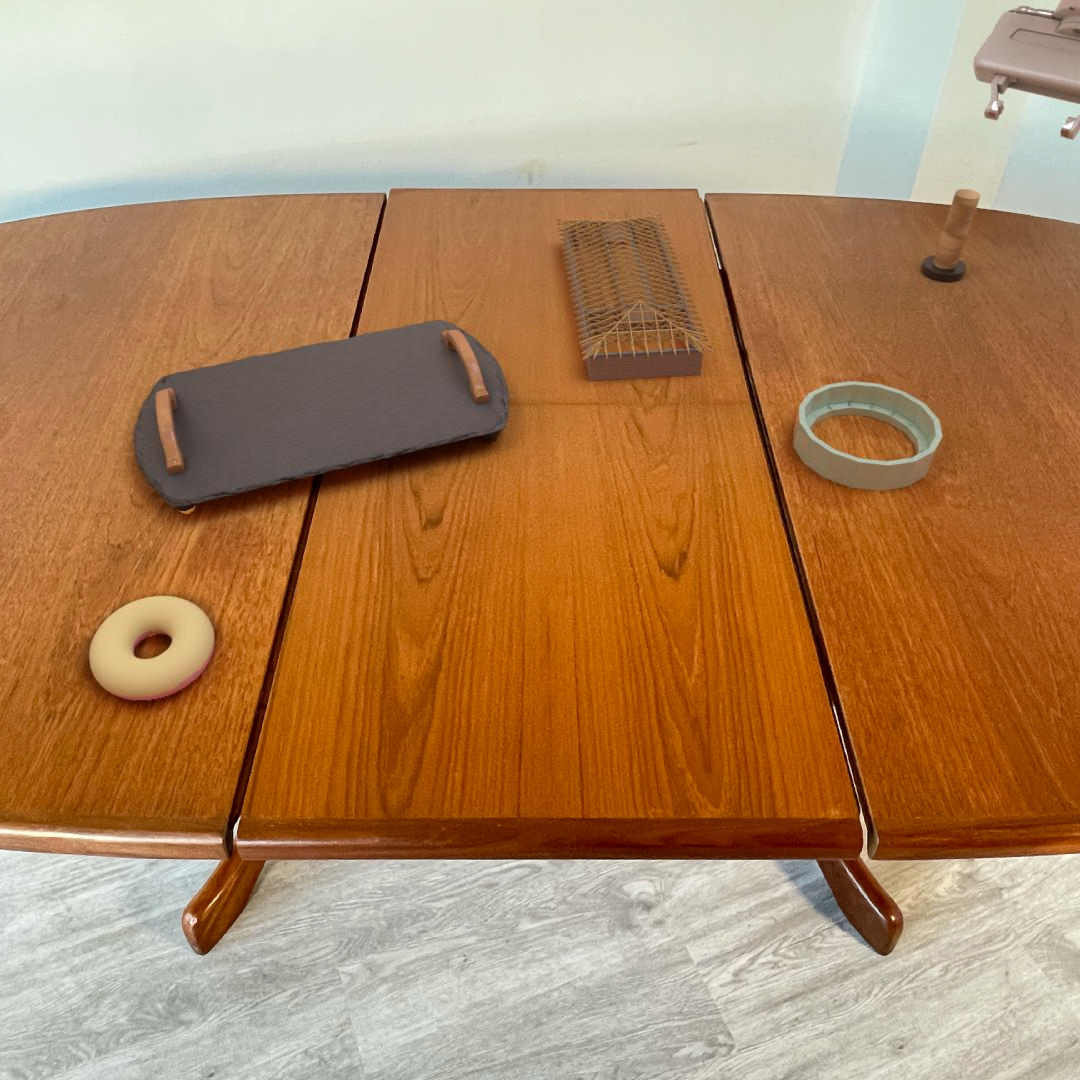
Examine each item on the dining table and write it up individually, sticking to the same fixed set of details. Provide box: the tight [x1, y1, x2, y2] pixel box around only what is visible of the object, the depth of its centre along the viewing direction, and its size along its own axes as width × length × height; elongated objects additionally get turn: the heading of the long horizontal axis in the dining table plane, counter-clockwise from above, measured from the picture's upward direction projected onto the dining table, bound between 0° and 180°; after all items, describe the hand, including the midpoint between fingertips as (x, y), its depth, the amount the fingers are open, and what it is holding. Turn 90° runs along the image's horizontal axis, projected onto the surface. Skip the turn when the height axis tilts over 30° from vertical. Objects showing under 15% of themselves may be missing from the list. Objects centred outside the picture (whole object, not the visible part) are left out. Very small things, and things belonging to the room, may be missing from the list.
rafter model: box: [555, 213, 714, 382], centre depth 109 cm, size 35×14×6 cm, turn 4°
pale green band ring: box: [792, 380, 943, 492], centre depth 86 cm, size 13×13×5 cm
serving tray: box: [132, 319, 510, 512], centre depth 92 cm, size 39×23×6 cm, turn 110°
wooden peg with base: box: [920, 188, 981, 284], centre depth 109 cm, size 5×5×12 cm
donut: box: [88, 595, 216, 701], centre depth 71 cm, size 10×5×9 cm
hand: (1027, 126), depth 107 cm, fingers open, 8 cm apart
